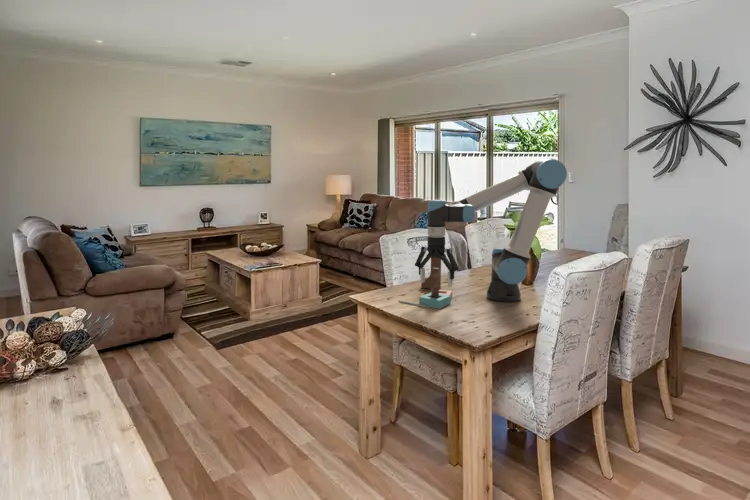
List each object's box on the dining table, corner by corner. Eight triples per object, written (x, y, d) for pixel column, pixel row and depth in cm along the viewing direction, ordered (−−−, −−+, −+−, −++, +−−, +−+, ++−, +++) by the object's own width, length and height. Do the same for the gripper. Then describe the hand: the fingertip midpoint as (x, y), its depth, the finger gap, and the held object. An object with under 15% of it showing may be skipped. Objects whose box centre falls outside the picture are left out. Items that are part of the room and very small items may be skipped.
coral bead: (452, 297, 228) (452, 290, 227) (449, 301, 220) (449, 295, 219) (434, 295, 230) (435, 289, 229) (431, 300, 222) (431, 293, 222)
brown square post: (439, 304, 216) (440, 268, 213) (436, 305, 214) (436, 269, 211) (433, 302, 218) (434, 267, 215) (429, 304, 215) (430, 268, 213)
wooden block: (421, 288, 243) (421, 252, 240) (422, 286, 248) (423, 251, 245) (439, 289, 241) (440, 253, 238) (440, 287, 245) (441, 252, 242)
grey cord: (426, 306, 212) (426, 305, 212) (425, 307, 211) (425, 305, 211) (399, 301, 220) (399, 300, 220) (398, 301, 220) (398, 300, 219)
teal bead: (450, 303, 217) (450, 295, 216) (439, 308, 209) (439, 300, 208) (430, 299, 223) (430, 292, 222) (419, 304, 215) (419, 297, 214)
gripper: (407, 235, 215) (407, 282, 219) (458, 239, 200) (457, 290, 204) (416, 233, 221) (416, 279, 225) (466, 237, 206) (466, 286, 210)
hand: (436, 284), depth 214 cm, fingers open, 13 cm apart
